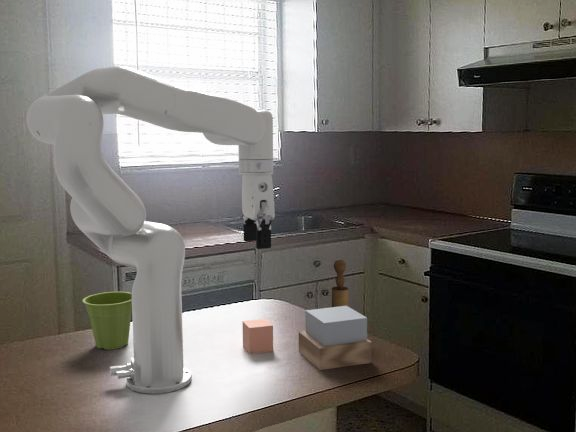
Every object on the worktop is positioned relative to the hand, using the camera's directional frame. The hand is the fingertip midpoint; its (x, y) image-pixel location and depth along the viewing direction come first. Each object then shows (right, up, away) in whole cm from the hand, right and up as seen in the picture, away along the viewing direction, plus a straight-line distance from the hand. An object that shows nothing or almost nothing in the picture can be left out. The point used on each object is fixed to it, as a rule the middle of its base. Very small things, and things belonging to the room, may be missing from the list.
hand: (257, 244), depth 147 cm
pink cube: (0, -24, +3) cm, 24 cm away
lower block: (+17, -25, -2) cm, 30 cm away
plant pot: (-34, -24, +6) cm, 42 cm away
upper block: (+17, -20, -3) cm, 26 cm away
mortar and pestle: (+19, -22, +14) cm, 33 cm away
